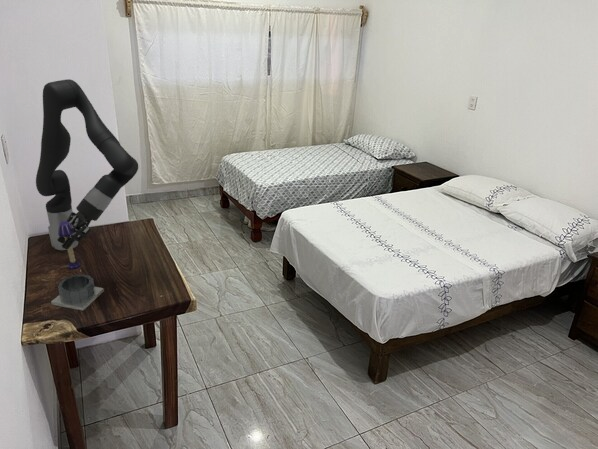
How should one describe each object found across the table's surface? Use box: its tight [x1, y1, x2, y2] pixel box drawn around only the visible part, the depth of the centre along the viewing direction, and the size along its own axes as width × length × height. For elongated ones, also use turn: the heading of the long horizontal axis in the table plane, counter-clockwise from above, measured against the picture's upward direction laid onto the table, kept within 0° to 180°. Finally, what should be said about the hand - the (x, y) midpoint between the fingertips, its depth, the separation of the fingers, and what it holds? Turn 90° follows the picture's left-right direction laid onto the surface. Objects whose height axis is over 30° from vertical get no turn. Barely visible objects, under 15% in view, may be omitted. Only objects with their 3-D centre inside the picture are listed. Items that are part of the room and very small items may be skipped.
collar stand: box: [50, 273, 105, 311], centre depth 151 cm, size 12×12×6 cm
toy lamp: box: [58, 221, 82, 271], centre depth 143 cm, size 5×5×17 cm
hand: (62, 244), depth 142 cm, fingers closed on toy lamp, 4 cm apart
